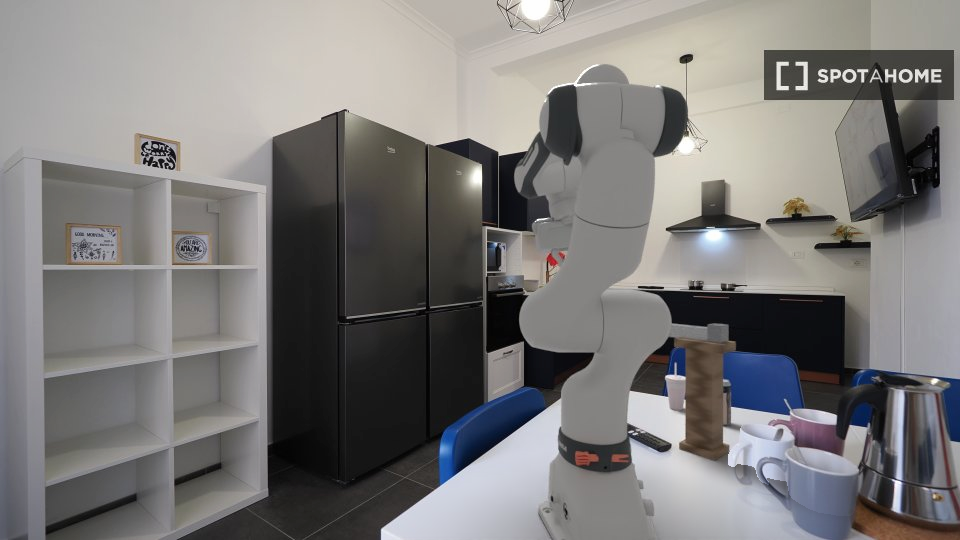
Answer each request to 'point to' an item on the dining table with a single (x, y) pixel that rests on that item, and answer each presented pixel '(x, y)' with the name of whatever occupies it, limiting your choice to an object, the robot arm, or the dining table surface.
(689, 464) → the dining table surface
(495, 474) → the dining table surface
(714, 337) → the grey long block
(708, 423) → the walnut stand
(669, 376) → the smoothie
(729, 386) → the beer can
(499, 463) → the dining table surface
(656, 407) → the dining table surface
